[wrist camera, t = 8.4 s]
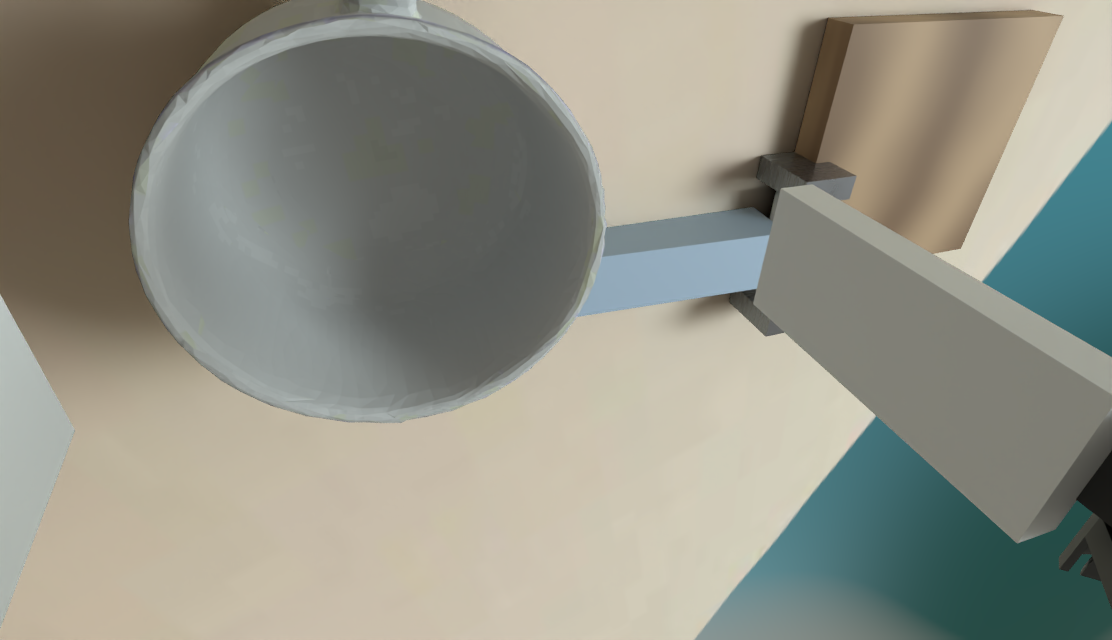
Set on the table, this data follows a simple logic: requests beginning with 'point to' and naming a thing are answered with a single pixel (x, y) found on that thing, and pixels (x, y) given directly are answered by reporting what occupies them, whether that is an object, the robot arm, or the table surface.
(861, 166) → the board
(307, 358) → the teacup
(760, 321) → the hinge cheek
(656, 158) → the table surface
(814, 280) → the robot arm
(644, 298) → the leg
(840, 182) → the hinge cheek
